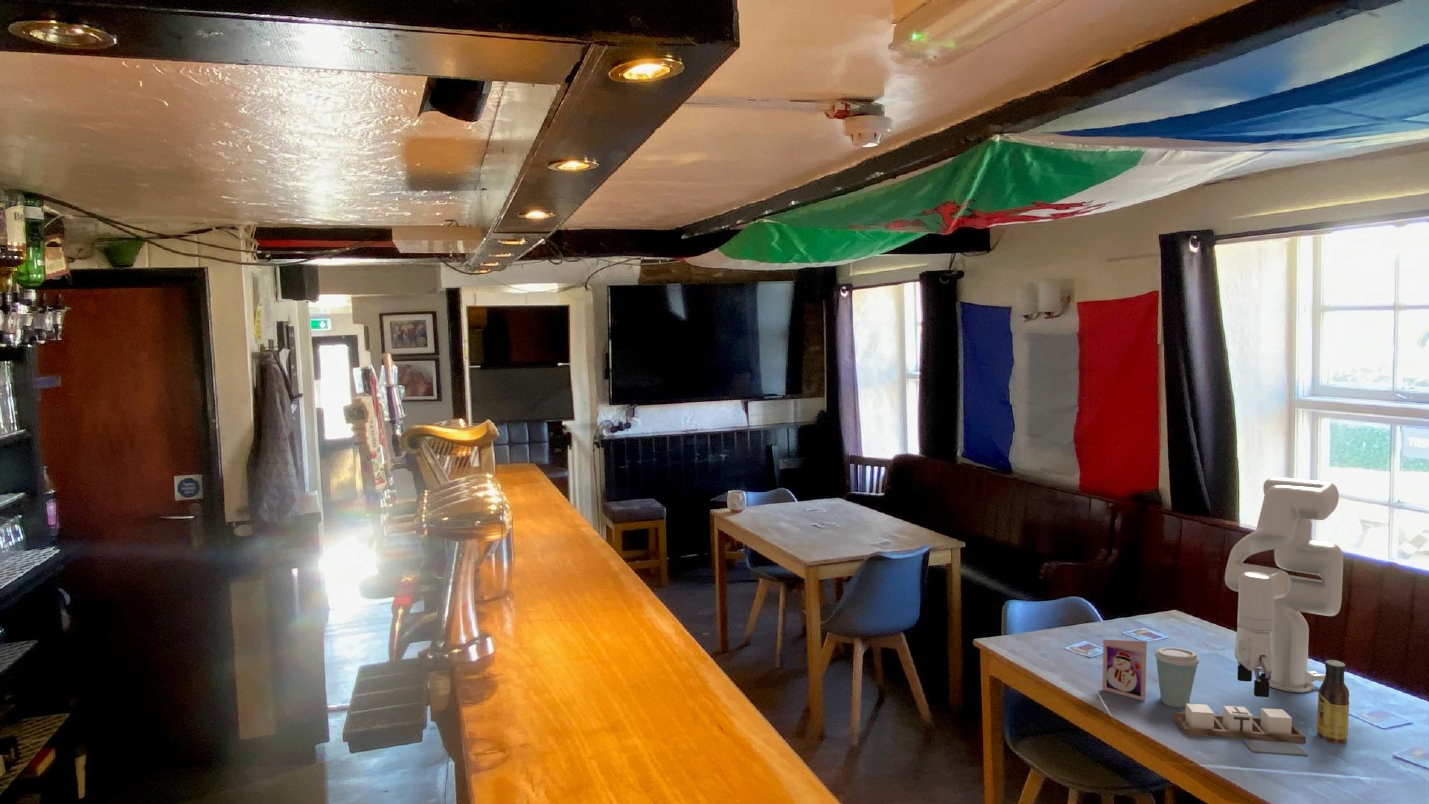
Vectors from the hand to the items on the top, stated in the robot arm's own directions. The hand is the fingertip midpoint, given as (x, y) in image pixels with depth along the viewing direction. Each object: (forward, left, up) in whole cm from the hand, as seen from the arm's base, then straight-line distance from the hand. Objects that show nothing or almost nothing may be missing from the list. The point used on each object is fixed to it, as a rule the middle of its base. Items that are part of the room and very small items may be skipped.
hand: (1252, 688), depth 217 cm
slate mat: (-2, +9, -12) cm, 15 cm away
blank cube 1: (+12, 0, -11) cm, 16 cm away
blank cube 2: (-6, 0, -11) cm, 12 cm away
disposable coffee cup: (+13, -15, -12) cm, 23 cm away
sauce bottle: (-18, +1, -12) cm, 21 cm away
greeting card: (+24, -20, -12) cm, 34 cm away
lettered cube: (+3, 0, -11) cm, 12 cm away
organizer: (+3, 0, -12) cm, 12 cm away
